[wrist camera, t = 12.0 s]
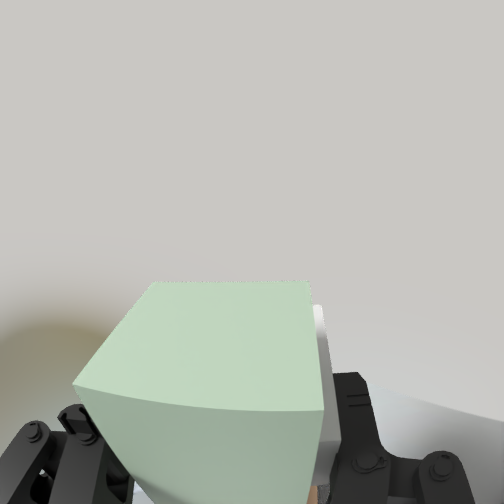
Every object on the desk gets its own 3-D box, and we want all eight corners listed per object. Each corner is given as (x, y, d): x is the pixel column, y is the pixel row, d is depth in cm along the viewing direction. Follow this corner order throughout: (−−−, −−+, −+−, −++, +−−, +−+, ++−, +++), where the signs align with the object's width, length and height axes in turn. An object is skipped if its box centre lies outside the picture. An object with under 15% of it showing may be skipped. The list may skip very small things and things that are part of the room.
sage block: (294, 494, 13) (308, 280, 8) (291, 559, 9) (323, 410, 4) (217, 490, 14) (153, 281, 9) (204, 552, 10) (72, 384, 5)
